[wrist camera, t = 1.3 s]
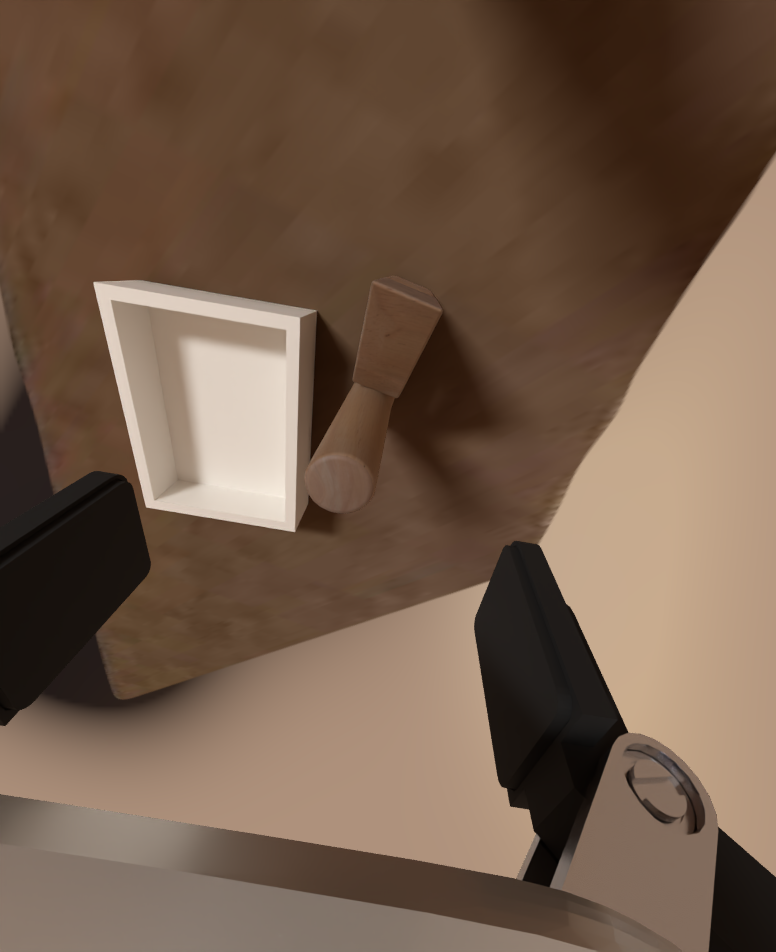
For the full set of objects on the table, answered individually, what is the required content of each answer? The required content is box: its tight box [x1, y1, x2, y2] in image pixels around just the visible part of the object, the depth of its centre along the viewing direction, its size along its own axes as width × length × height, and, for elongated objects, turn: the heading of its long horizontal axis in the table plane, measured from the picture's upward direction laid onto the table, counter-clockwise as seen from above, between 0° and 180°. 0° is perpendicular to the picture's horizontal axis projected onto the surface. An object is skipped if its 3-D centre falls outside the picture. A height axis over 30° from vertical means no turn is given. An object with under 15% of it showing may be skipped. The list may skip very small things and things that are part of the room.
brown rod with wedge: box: [304, 276, 443, 514], centre depth 24 cm, size 4×11×18 cm, turn 160°
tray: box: [93, 280, 317, 532], centre depth 33 cm, size 20×15×5 cm
